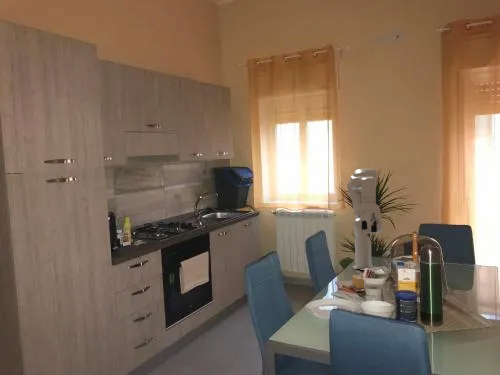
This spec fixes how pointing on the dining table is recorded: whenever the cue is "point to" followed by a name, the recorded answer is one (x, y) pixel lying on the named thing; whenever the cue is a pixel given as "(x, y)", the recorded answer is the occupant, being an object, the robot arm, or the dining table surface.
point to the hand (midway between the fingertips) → (369, 230)
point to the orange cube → (358, 281)
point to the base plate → (355, 287)
